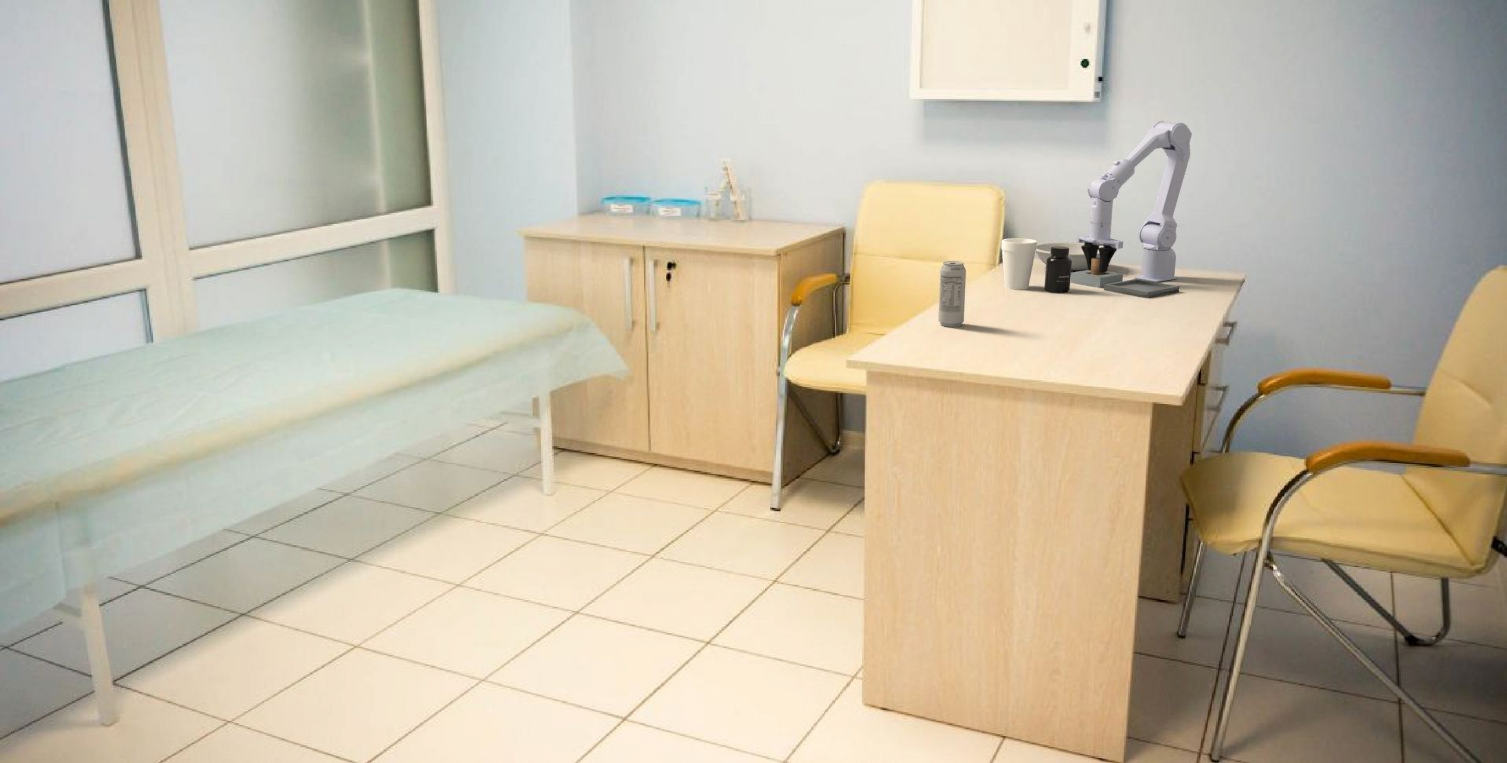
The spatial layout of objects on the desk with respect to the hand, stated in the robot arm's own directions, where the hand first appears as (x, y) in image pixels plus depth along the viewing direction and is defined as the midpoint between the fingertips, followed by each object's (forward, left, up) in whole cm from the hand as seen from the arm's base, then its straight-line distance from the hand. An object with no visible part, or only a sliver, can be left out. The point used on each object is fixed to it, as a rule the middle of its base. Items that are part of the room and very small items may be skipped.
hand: (1097, 271), depth 349 cm
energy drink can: (+72, +14, -4) cm, 73 cm away
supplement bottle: (+18, +1, -4) cm, 18 cm away
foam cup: (+23, -9, -4) cm, 25 cm away
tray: (0, +15, -3) cm, 15 cm away
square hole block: (0, 0, -3) cm, 3 cm away
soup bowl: (-12, -19, -4) cm, 23 cm away
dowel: (0, 0, -3) cm, 3 cm away
